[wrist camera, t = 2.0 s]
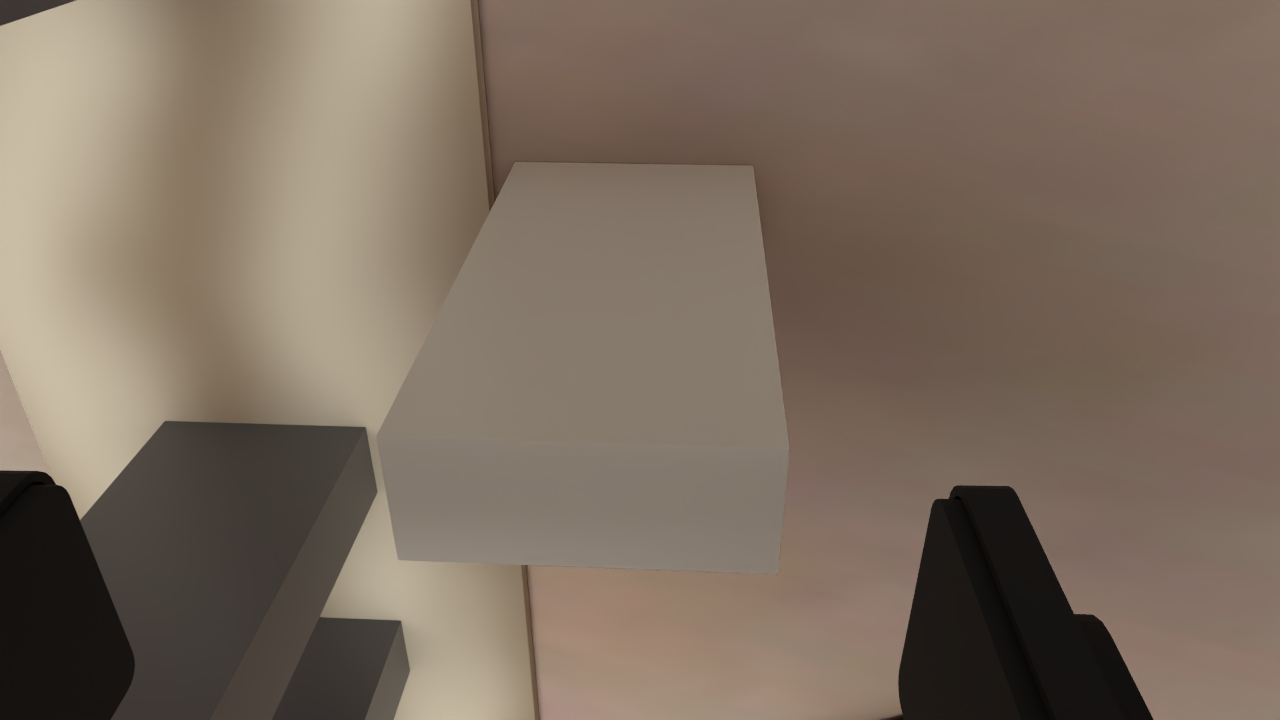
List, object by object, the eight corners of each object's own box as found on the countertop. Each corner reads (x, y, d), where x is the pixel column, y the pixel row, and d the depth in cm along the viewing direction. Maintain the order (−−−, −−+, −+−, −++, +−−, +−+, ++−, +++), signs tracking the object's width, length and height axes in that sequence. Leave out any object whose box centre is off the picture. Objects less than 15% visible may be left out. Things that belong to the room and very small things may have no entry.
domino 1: (366, 426, 23) (167, 799, 15) (377, 492, 24) (198, 876, 16) (165, 420, 24) (-146, 784, 15) (185, 485, 25) (-96, 860, 16)
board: (385, -1065, 12) (370, -1105, 12) (540, 728, 29) (537, 744, 29) (-507, -1019, 13) (-558, -1053, 12) (159, 710, 30) (150, 726, 30)
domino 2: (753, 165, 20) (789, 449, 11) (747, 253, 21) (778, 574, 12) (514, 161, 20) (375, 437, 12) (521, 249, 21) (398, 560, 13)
